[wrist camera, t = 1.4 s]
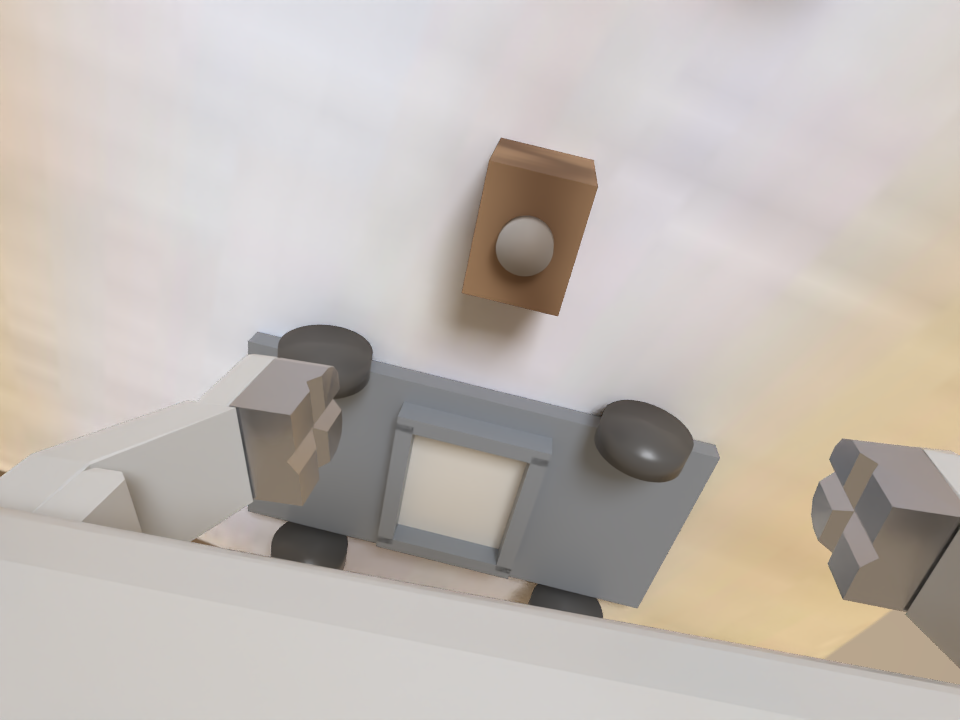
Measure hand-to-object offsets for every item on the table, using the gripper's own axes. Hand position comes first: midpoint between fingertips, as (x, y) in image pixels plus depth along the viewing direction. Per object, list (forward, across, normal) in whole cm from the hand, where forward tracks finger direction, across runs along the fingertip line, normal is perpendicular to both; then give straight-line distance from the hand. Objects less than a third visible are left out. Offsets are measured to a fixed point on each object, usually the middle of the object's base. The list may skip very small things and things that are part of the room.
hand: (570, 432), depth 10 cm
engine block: (+22, +3, +2) cm, 22 cm away
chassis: (+21, +5, +20) cm, 30 cm away
